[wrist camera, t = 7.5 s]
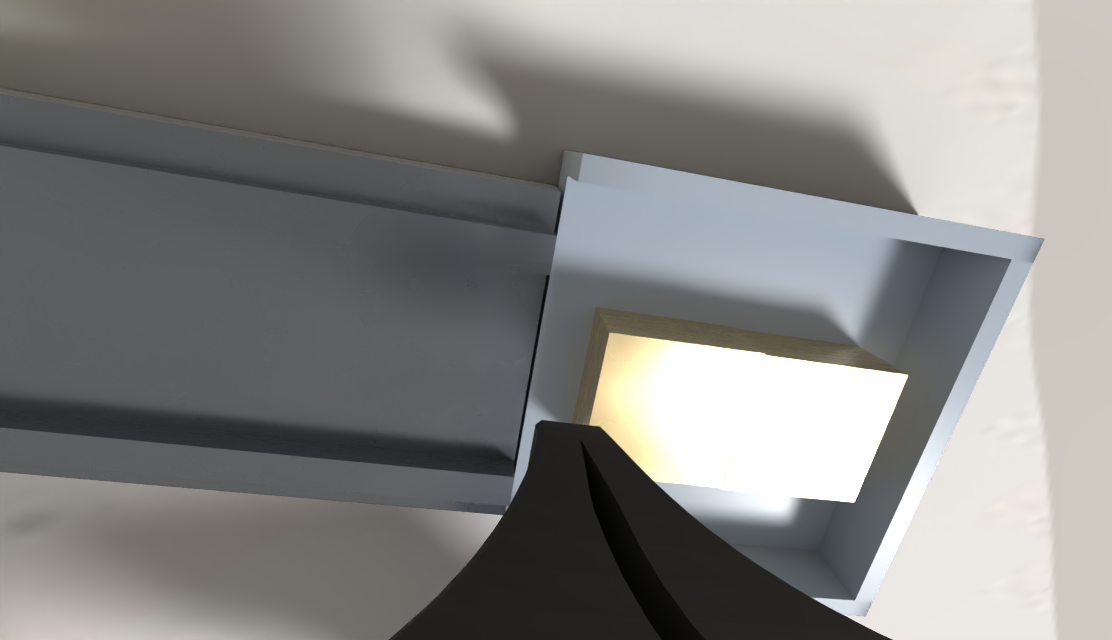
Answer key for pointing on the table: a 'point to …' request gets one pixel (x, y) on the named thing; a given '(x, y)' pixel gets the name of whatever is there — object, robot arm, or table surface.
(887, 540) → the tray
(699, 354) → the cream square block
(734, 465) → the brass chip
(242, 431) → the slotted bar
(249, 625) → the table surface
